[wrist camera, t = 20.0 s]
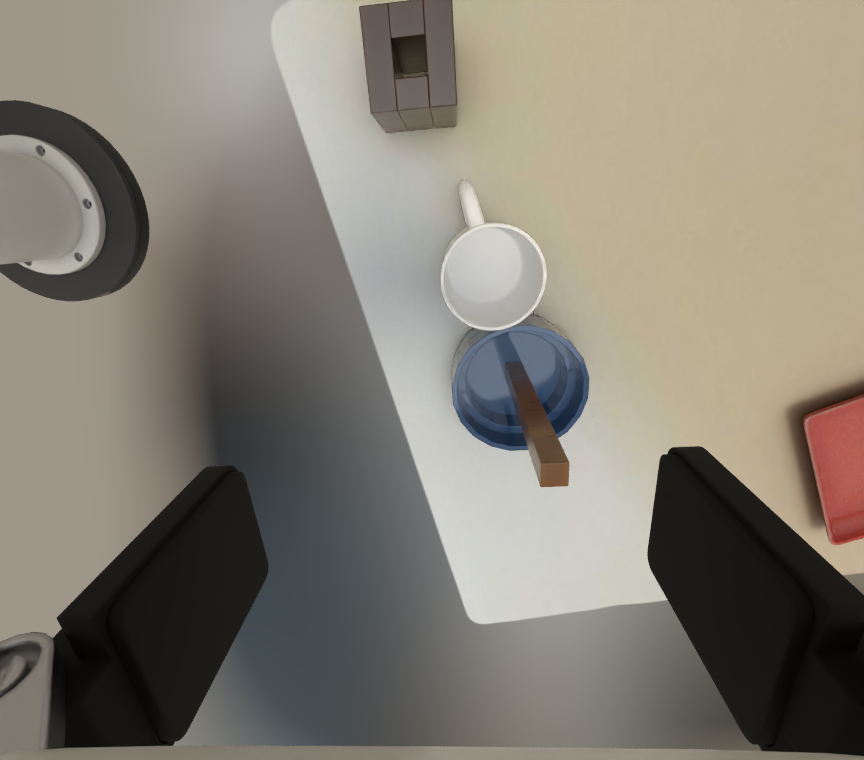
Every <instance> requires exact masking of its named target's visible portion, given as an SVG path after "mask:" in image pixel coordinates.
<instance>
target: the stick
mask: <svg viewBox="0 0 864 760" xmlns="http://www.w3.org/2000/svg"><path fill="white" fill-rule="evenodd" d="M505 379H506V382H507V385H508V388H509V391H510V394H511V397H512V400H513V403H514V407H515V410H516V413H517V416H518V419H519V422H520V425H521V428H522V431H523V434H524V437H525V440H526V444H527V447H528V450H529V453H530V456H531V459H532V462H533V465H534V468H535V471H536V474H537V477H538V481H539V484H540V486H541V487H555V486H568V482H569V461H568V459H567V457H566V455H565V453H564V450H563V448H562V446H561V444H560V442H559V440H558V438H557V436H556V434H555V431H554V429H553V427H552V425H551V423H550V421H549V419H548V417H547V415H546V412H545V410H544V408H543V406H542V404H541V402H540V400H539V398H538V395H537V393H536V391H535V389H534V387H533V385H532V383H531V381H530V379H529V376H528V374H527V372H526V370H525V368H524V366H523V364H522V362H515V363H505Z"/></svg>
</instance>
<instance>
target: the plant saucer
mask: <svg viewBox="0 0 864 760" xmlns="http://www.w3.org/2000/svg"><path fill="white" fill-rule="evenodd" d="M803 425H804V430H805V435H806V439H807V444H808V448H809V453H810V457H811V462H812V466H813V471H814V476H815V480H816V485H817V489H818V494H819V499H820V503H821V508H822V512H823V517H824V522H825V526H826V531H827V535H828V539H829V542H830V543H831V544H833V545H841V544H844V543H848V542H851V541H854V540H858V539H862V538H864V394H863V395H860V396H857V397H854V398H851V399H848V400H845V401H842V402H840V403H837V404H834V405H831V406H828V407H825V408H822V409H820V410H817V411H814V412H811V413H809V414H807V415H806V416H805V417H804V419H803Z"/></svg>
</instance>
